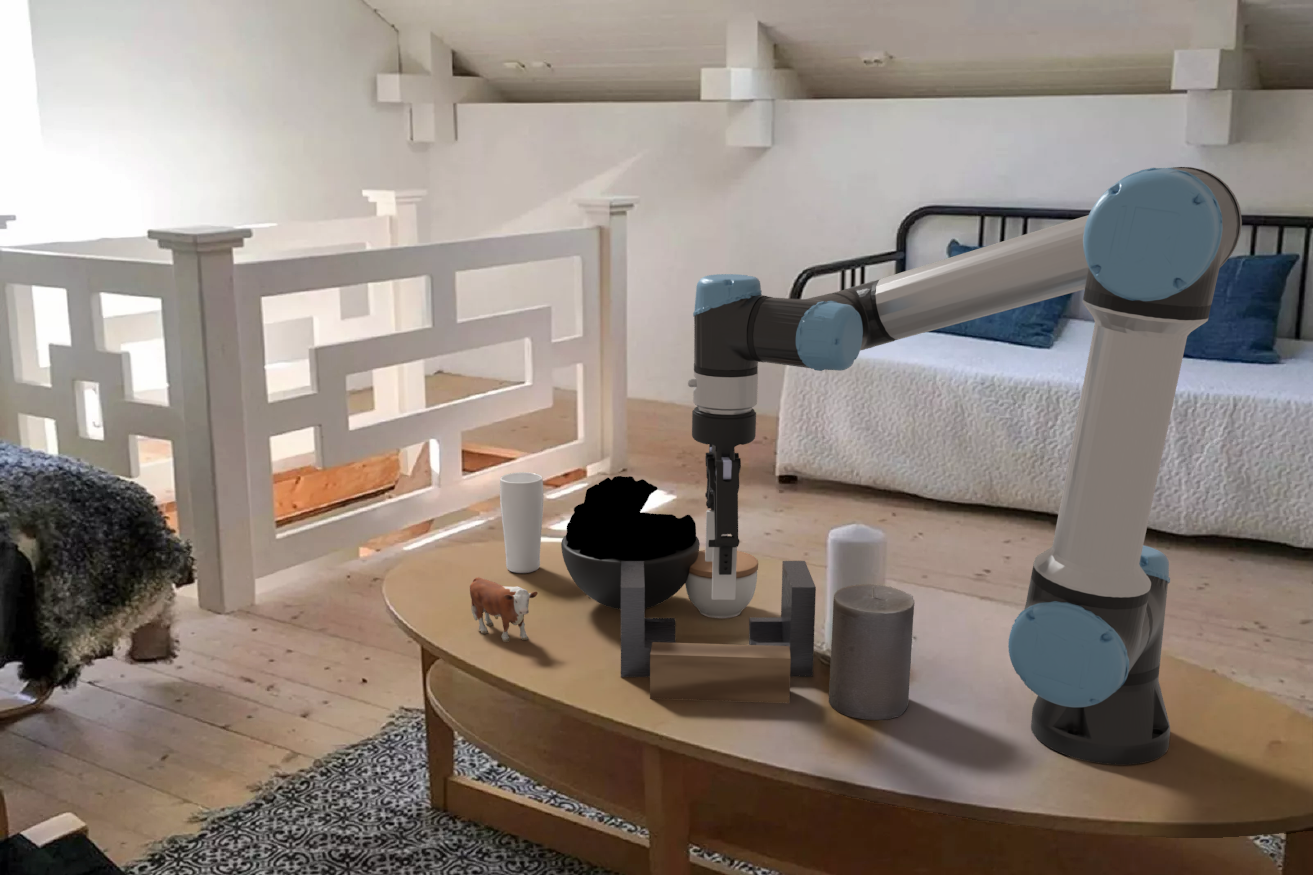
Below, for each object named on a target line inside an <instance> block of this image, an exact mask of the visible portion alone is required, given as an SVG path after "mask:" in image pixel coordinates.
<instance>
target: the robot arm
mask: <svg viewBox="0 0 1313 875" xmlns="http://www.w3.org/2000/svg"><path fill="white" fill-rule="evenodd" d="M1242 219H1243V218H1242V210H1241V206H1240V203H1239V202H1238V199H1237V197H1236V194H1235V193H1234V192H1233V190H1232V189H1231V188H1230V187H1229V185H1228V184H1227V183H1226V182H1224V181H1223V180H1222V179H1221V177H1218V176H1217V175H1215V174H1214V173H1211V172H1210V171H1206V170H1204V169H1201V168H1196V167H1192V166H1176V167H1174V166H1173V167H1150V168H1146V169H1145V168H1144V169H1141V170H1139V171H1135V172H1132V173H1130V174H1128V175H1126V176H1124V177H1123V178H1121V179H1120V180H1117V182H1115V183H1114V184H1112V185H1111V186H1110V187H1109V188H1108V189H1107V190H1106V191H1105V192H1103V194H1101V196H1100V197H1099V198H1098V199H1097V200H1096V202H1095V203H1094V204H1093V206H1092V208H1091V209H1090V212H1089V213H1088V215H1085V216H1081V217H1077V218H1075V219H1072V220H1068V221H1064V222H1061V223H1057V224H1055V225H1052V226H1048V227H1045V228H1042V229H1038V230H1036V231H1032V232H1028V233H1025V234H1022V235H1019V236H1016V237H1012V238H1009V239H1006V240H1003V241H999V242H997V243H993V244H990V245H986V246H983V247H980V248H976V249H974V250H971V251H967V252H963V253H961V254H960V253H959V254H957V255H954V256H951V257H948V258H944V259H941V260H940V259H939V260H938V261H935V262H931V263H928V264H927V263H926V264H924V265H922V266H918V267H914V268H911V269H908V270H905V271H904V270H903V271H902V272H899V273H896V274H892V275H889V276H885V277H882V278H880V279H876V280H872V281H870V282H869V281H868V282H866V283H861V284H859V285H854V286H851V287H849V288H845V289H842V290H838V291H835V292H831V293H825V294H821V295H816V296H813V297H809V298H805V299H804V298H787V297H786V298H785V297H773V296H768V295H762V286H761V281H760V279H759V278H758V277H756V276H753V275H752V276H751V275H747V274H736V273H734V274H733V273H728V274H727V273H725V274H724V273H721V274H720V273H719V274H718V273H717V274H708V275H705V276H703V277H700V279H699V280H698V282H697V284H696V287H695V290H696V291H695V299H694V300H695V301H694V302H695V303H694V311H693V313H692V316H693V317H694V318H693V320H694V325H693V326H694V330H693V331H694V333H693V334H694V336H693V337H694V339H693V340H694V341H693V342H694V343H693V344H694V346H693V348H694V350H693V351H694V352H693V353H694V356H693V358H694V360H693V362H694V363H693V377H694V378H690V379H688V380H687V386H688V387H690V388H693V392H692V396H693V397H692V398H693V399H692V402H693V404H694V405H695V406H696V407H694V409H692V413H691V414H692V415H691V419H692V420H691V436H692V438H693V440H694V441H696V442H697V443H700V444H704V445H708V452H705V456H704V457H705V460H704V461H705V467H706V468H705V469H706V470H705V471H706V472H705V473H706V474H705V475H706V492H705V496H704V497H705V499H706V502H705V506H706V509H707V510H706V514H705V515H706V516H705V548H704V550H705V561H711V562H713V568H712V599H718V600H735V596H736V563H737V551H738V547H739V545H740V538H739V490H740V473H741V468H742V466H741V465H742V462H741V458H740V454H739V452H736V451H735V449H736V447H737V446H739V445H744V446H745V445H749V444H750V443H752V442H754V440H755V439H756V433H757V432H756V430H757V412H756V411H755V409H754V408H755V407H756V406H757V404H758V388H759V386H758V384H759V381H758V380H759V371H758V368H759V367H758V366H759V363H768V364H775V365H782V366H783V365H784V366H788V367H789V366H790V367H796V368H806V369H813V370H814V371H819V372H820V371H821V372H822V371H825V370H827V371H845V370H847V369H849V368H850V367H852V366H853V364H854V361H855V360H857V359H858V357H859V355H860V351H864V350H868V349H872V348H874V347H878V346H882V345H885V344H888V343H889V344H890V343H892V342H895V341H899V340H901V339H905V338H909V337H912V336H913V337H914V336H916V335H921V334H925V333H928V332H931V331H935V330H938V329H943V328H946V327H950V326H954V325H958V324H960V323H965V322H968V321H972V320H976V319H979V318H983V317H988V316H991V315H995V314H998V313H1002V312H1006V311H1009V310H1013V309H1017V308H1021V307H1024V306H1028V305H1031V304H1034V303H1039V302H1043V301H1046V300H1049V299H1053V298H1058V297H1061V296H1064V295H1068V294H1073V293H1076V292H1080V291H1083V298H1082V304H1083V305H1084V307H1085V308H1086V309H1087V311H1088V312H1089V313H1090V315H1091V316H1092V318H1093V320H1094V327H1093V330H1092V331H1093V332H1092V337H1091V341H1090V348H1089V352H1088V357H1087V362H1086V363H1087V364H1086V368H1085V369H1086V370H1085V374H1084V377H1083V378H1084V379H1083V384H1082V390H1081V395H1080V400H1079V405H1078V410H1077V416H1076V421H1075V424H1074V425H1075V427H1074V431H1073V436H1072V442H1071V448H1070V452H1069V457H1068V463H1067V468H1066V472H1065V479H1064V484H1063V488H1062V494H1061V499H1060V504H1059V509H1058V516H1057V520H1056V525H1055V531H1054V536H1053V540H1052V546H1051V547H1049V548H1048V549H1046V550H1044V551H1043V552H1041V553H1040V554H1038V555H1036V557H1035V558H1034V560H1033V565H1032V570H1031V576H1030V580H1029V586H1028V591H1027V595H1026V601H1025V606H1024V608H1023V610H1022V611H1021V612H1019V614H1018V616H1017V617H1016V618H1015V619H1014V623H1013V624H1012V625H1011V629H1010V632H1009V637H1008V646H1007V647H1008V656H1009V658H1010V662H1011V665H1012V667H1013V670H1014V671H1015V674H1017V675H1018V676H1019V678H1020V680H1022V682H1023V683H1024V685H1025V686H1026V687H1027V688H1028V689H1029V690H1030V691H1031V692H1033V693H1034V694H1035V695H1037V697H1036V699H1035V701H1034V702H1033V703H1034V704H1033V706H1032V709H1031V710H1032V711H1031V722H1030V723H1031V724H1030V729H1031V731H1032V734H1033V735H1034V736H1035V737H1036V739H1037V740H1038V741H1039V742H1040V743H1042V744H1044V745H1045V746H1047V747H1048V748H1049V749H1051V750H1053V751H1056V752H1058V753H1060V754H1063V755H1065V756H1069V757H1071V758H1074V759H1078V760H1081V761H1086V762H1091V763H1097V764H1103V765H1118V766H1119V765H1123V766H1125V765H1138V764H1143V763H1149V762H1151V761H1155V760H1157V759H1159V758H1161V757H1162V756H1164V755H1165V754H1166V753H1167V752H1168V749H1169V746H1170V738H1171V737H1170V736H1171V725H1170V720H1169V716H1168V713H1167V708H1166V705H1165V701H1164V697H1163V693H1162V688H1161V685H1160V681H1159V680H1160V679H1159V678H1160V677H1159V676H1160V666H1161V656H1162V646H1163V639H1164V638H1163V635H1164V627H1165V615H1166V607H1167V606H1166V605H1167V597H1168V585H1169V584H1170V583H1171V578H1170V562H1169V559H1168V557H1167V556H1166V554H1164V552H1162V551H1160V550H1158V549H1157V548H1155V547H1154V548H1153V547H1151V546H1149V545H1144V543H1145V539H1146V535H1147V534H1146V533H1147V529H1148V525H1149V518H1150V514H1151V509H1152V505H1153V500H1154V496H1155V490H1156V488H1157V482H1158V477H1159V473H1160V472H1159V471H1160V467H1161V462H1162V458H1163V453H1164V448H1165V444H1166V443H1165V442H1166V438H1167V436H1168V435H1167V434H1168V430H1169V424H1170V420H1171V415H1172V410H1173V406H1174V401H1175V396H1176V392H1177V387H1178V382H1179V377H1180V373H1181V372H1180V371H1181V367H1182V364H1183V363H1182V362H1183V357H1184V353H1185V349H1186V344H1187V340H1188V339H1187V338H1188V336H1189V335H1190V334H1191V332H1193V331H1195V330H1196V329H1197V328H1199V327H1200V326H1202V325H1204V324H1205V323H1206V322H1208V321H1209V315H1210V312H1211V306H1212V304H1213V299H1214V294H1215V291H1216V284H1217V280H1218V277H1219V271H1220V268H1221V267H1223V265H1224V264H1225V263H1226V262H1227V260H1228V259H1230V258H1231V256H1232V255H1233V253H1234V251H1235V249H1236V248H1237V246H1238V243H1239V239H1240V237H1241V235H1242V234H1241V233H1242V225H1243V221H1242ZM709 509H710V510H709Z"/></svg>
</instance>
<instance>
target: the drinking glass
mask: <svg viewBox="0 0 1313 875" xmlns="http://www.w3.org/2000/svg"><path fill="white" fill-rule="evenodd" d="M543 480H544V479H543V476H542V475H541V474H538V473H534V472H524V471H523V472H512V473H507V474H504V475H502V476H500V478H499V503H500V513H501V514H500V515H501V523H502V532H503V539H504V540H503V541H504V551H505V566H506V569H507V570H508V571H509V572H512V573H515V574H527V573H533V572H535V571H538V569H539V568H540V566H541V559H540V558H541V544H542V542H541V541H542V529H543V528H542V527H543V514H544V481H543Z"/></svg>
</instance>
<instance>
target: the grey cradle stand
mask: <svg viewBox="0 0 1313 875" xmlns="http://www.w3.org/2000/svg"><path fill="white" fill-rule="evenodd" d="M781 566H782V569H781V572H782V573H781V604H780V606H781V607H780V617H749V622H748V624H749V626H748V629H749V630H748V645H767V646H790V657H791V664H790V678H792V677H814V657H815V656H814V653H815V651H814V650H815V647H814V646H815V622H816V621H815V620H816V618H815V617H816V594H817V593H816V591H817V590H816V589H817V586H816V584H815V581H814V580H813V579H814V578H813V576H812V574H811V572H810V569H809V567H808V564H807V563H806V560H782V563H781ZM645 611H646V609H645V583H644V561H621V610H620V678H650V653H651V647H652V642H665V643H677V642H676V641H677V639H676V630H677V628H676V626H677V625H676V624H677V623H676V622H677V621H676V617H645V615H646V614H645V613H646V612H645Z"/></svg>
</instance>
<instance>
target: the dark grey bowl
mask: <svg viewBox="0 0 1313 875" xmlns="http://www.w3.org/2000/svg"><path fill="white" fill-rule="evenodd" d="M658 490H659V489H658V487H657V486H656V485H654V484H652V483H649V482H648V481H646V480H645V479H643V478H641V479H639V480H636V479H635V478H634V476H623V475H618V476H613V478H610V477H607V478H605V479H603V480H601V481H599V482H598V484H597V483H596V484H594V485H592V486H590V487H589V488H587V489H586V492H585V496H584V501H583V502H582V503H579V504H578V505H576V506H575V507H574V508H573V513H572V515H571V517H570V519H569V522H567V525H566V528H565V529H566V534H565V535H564V536H563V538H562V539H561V543H560V546H561V554H562V558H563V562H564V565H565V567H566V570H567V572H568V573H569V576H570V577H571V579H572V581H573V582H574V583H575V584H576V586H577V587H578V588H579V589H580V590H581V591H582V592H583V594H585V595H586V596H588V597H589V598H591V599H592V600H593V601H594V602H596V603H598V604H600V605H603V606H605V607H608V608H611V609H615V610H619V611H621V561H644V583H645V610H646V609H650V608H653V607H656V606H658V605H660V604H662V603H664V602H666V601H667V600H669V599H670V598H672V597H673V596H675V594H677V593H678V592H679V591H680V590H681V589H682V588H683V586H684V585H685V583H686V580H687V577H688V575H689V569H690V566H691V565H693V564H694V563H695V561H696V560H697V558H698V553H699V551H700V547H701V545H700V540H699V537H698V536H697V527H696V525H697V524H696V521H695V520H694V518H693V517H692V516H691V514H685V515H684V516H682V517H677V516H676V515H674V514H669V513H653V512H652V513H649V512H641V511H642V510H643V509H644V507H645V505H646V503H647V502H648V500H649V498H650V496H651V494H653V493H655V492H656V491H658Z"/></svg>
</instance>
